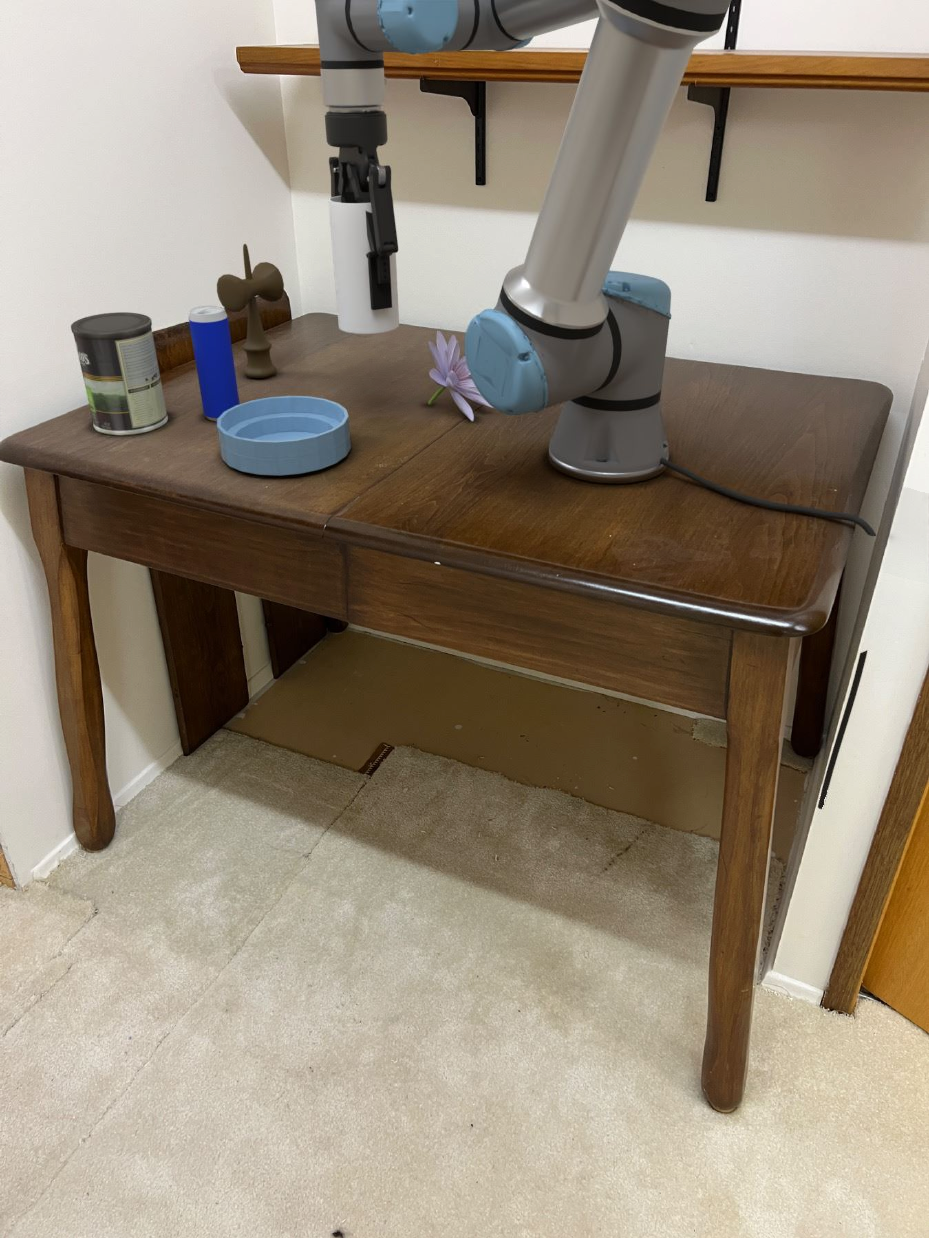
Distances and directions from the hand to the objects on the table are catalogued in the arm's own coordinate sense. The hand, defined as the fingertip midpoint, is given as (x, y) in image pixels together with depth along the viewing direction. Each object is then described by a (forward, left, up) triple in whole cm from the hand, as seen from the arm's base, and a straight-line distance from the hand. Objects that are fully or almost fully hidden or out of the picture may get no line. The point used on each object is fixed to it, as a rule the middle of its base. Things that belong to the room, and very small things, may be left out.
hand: (367, 301), depth 126 cm
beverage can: (+11, +19, -16) cm, 27 cm away
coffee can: (+15, +31, -16) cm, 38 cm away
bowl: (-7, +16, -16) cm, 24 cm away
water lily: (-4, -12, -16) cm, 21 cm away
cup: (0, 0, -3) cm, 3 cm away
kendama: (+26, +8, -16) cm, 32 cm away
